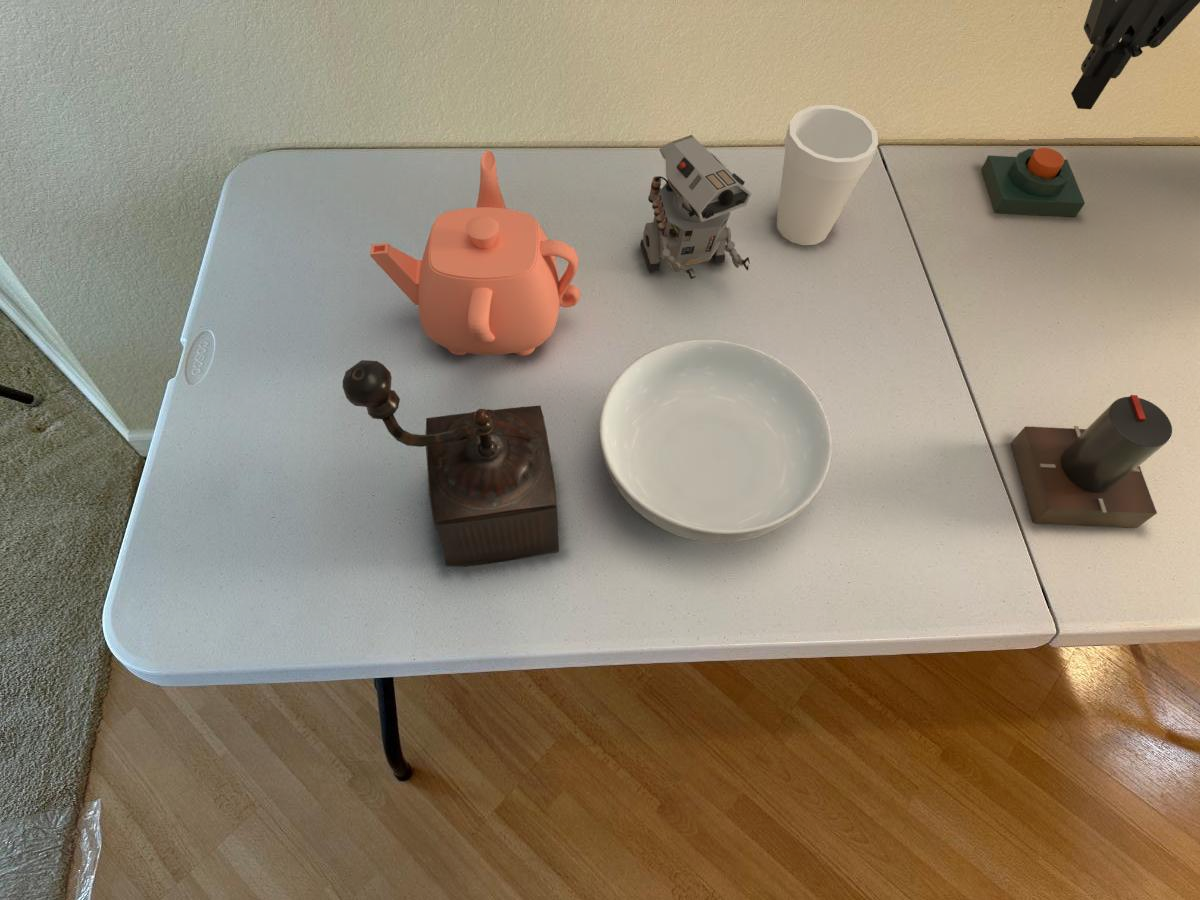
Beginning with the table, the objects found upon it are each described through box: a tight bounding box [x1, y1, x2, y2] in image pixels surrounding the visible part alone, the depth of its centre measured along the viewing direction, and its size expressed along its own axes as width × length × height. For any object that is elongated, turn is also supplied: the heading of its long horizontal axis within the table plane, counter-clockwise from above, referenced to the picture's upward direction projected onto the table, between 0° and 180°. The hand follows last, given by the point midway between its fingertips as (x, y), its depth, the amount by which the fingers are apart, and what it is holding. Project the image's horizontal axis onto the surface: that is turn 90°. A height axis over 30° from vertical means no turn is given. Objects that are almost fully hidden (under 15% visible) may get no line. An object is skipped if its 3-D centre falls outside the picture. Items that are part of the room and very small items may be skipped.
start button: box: [1027, 147, 1065, 178], centre depth 97 cm, size 4×4×2 cm
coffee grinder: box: [341, 359, 560, 568], centre depth 67 cm, size 16×11×18 cm
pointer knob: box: [1062, 394, 1173, 492], centre depth 73 cm, size 5×5×8 cm
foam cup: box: [776, 104, 879, 246], centre depth 91 cm, size 10×9×13 cm
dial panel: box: [1010, 425, 1158, 529], centre depth 77 cm, size 10×9×3 cm
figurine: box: [639, 134, 753, 280], centre depth 85 cm, size 9×12×15 cm
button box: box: [980, 148, 1086, 218], centre depth 99 cm, size 10×8×4 cm
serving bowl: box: [598, 339, 833, 543], centre depth 75 cm, size 21×21×7 cm
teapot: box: [369, 150, 581, 357], centre depth 81 cm, size 16×17×14 cm
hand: (1080, 101), depth 90 cm, fingers closed
